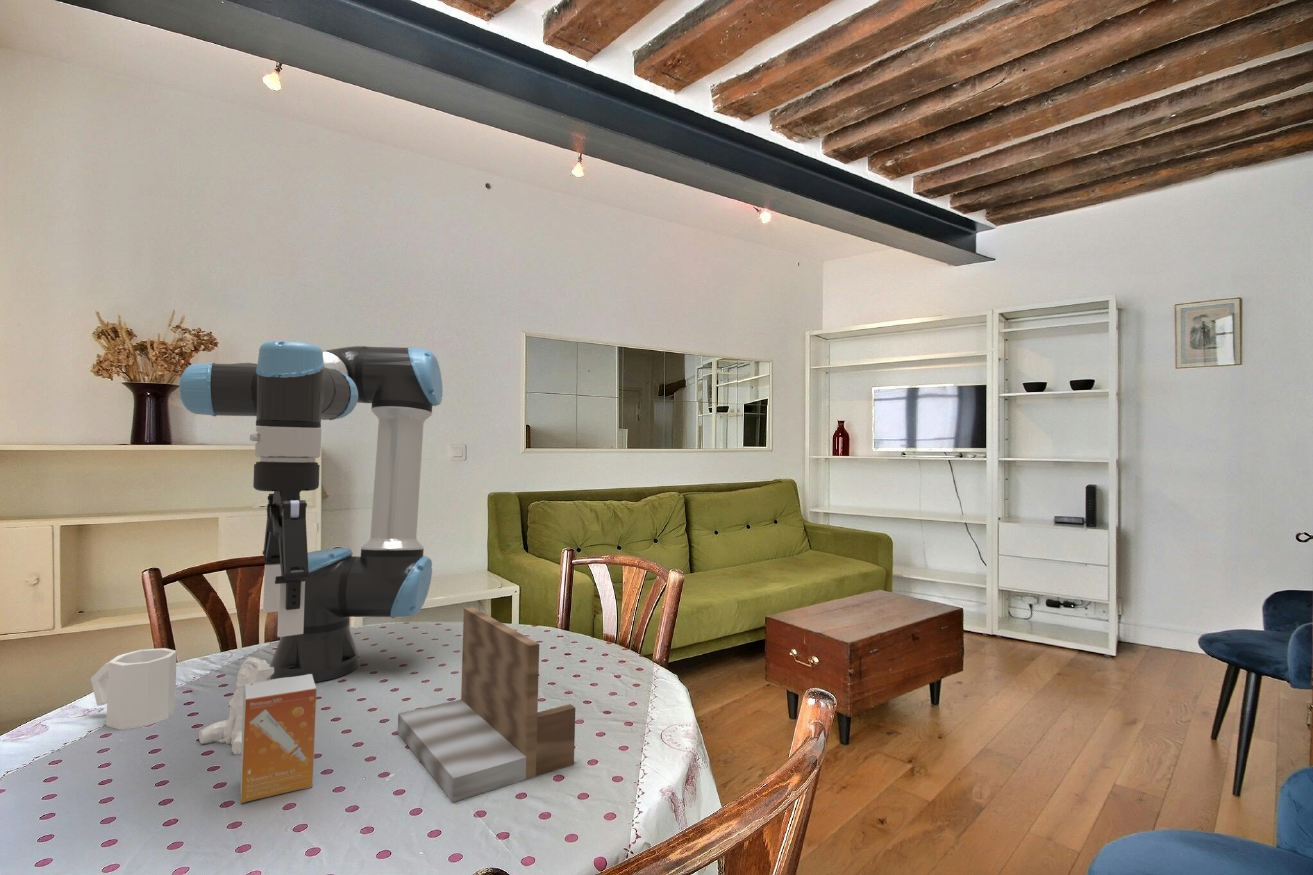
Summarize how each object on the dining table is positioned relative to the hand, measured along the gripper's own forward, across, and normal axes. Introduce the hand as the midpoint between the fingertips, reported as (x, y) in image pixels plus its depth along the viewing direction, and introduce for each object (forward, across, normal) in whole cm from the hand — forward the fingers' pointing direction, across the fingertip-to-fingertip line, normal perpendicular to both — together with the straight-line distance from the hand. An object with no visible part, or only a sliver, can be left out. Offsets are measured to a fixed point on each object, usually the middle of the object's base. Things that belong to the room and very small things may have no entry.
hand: (282, 622), depth 85 cm
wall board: (+21, +5, +26) cm, 34 cm away
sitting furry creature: (+21, -18, -2) cm, 28 cm away
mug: (+21, -36, -16) cm, 45 cm away
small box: (+21, 0, 0) cm, 21 cm away
